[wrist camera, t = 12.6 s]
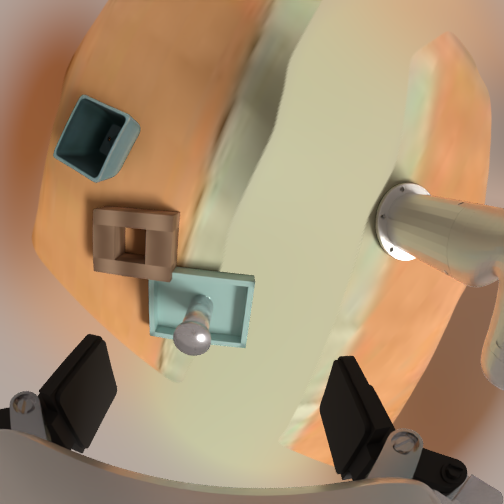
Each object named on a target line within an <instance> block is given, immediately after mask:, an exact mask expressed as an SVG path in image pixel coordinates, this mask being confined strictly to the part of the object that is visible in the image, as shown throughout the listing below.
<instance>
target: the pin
mask: <svg viewBox="0 0 504 504" xmlns="http://www.w3.org/2000/svg"><path fill="white" fill-rule="evenodd" d="M212 311H213V302H212V300H211V299H210V298H209V297H208V296H206V295H196V296H194V297H193V298H192V299H191V301H190V303H189V306H188V309H187V311H186V314H185V317H184V319H183V322H182V323H180V324H179V325H178V326H177V327H176V329H175V331H174V334H173V341H174V344H175V346H176V347H177V348H178V349H179V350H180V351H181V352H183V353H185V354H188V355H193V356H195V355H201V354H203V353H205V352H206V351H207V350H208V349H209V347H210V344H211V334H210V331H209V327H210V322H211V316H212Z"/></svg>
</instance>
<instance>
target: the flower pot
mask: <svg viewBox="0 0 504 504" xmlns="http://www.w3.org/2000/svg"><path fill="white" fill-rule="evenodd" d="M139 133H140V125H139V124H138V123H137V122H136V121H135V120H134V119H133V118H132V117H131V116H130V115H129V114H127V113H125V112H122V111H120V110H118V109H115V108H113V107H111V106H108V105H106V104H104V103H102V102H100V101H97V100H95V99H93V98H91V97H89V96H87V95H82V96H81V97H80V98H79V100H78V102H77V104H76V106H75V107H74V110H73V111H72V113H71V116H70V118H69V120H68V122H67V124H66V126H65V128H64V130H63V132H62V135H61V137H60V139H59V141H58V143H57V146H56V148H55V150H54V154H53V156H54V158H56V159H57V160H59V161H61V162H62V163H64V164H66V165H67V166H69V167H71V168H72V169H74V170H75V171H77V172H79V173H80V174H82V175H84V176H85V177H87V178H88V179H90V180H91V181H93V182H96V183H97V182H100V181H103V180H106V179H109V178H112V177H114V176H115V175H116V174H117V173H118V172H119V171H120V169H121V168H122V166H123V164H124V162H125V160H126V158H127V156H128V154H129V152H130V150H131V148H132V146H133V144H134V142H135V141H136V139H137V137H138V135H139ZM109 137H110V138H111V140H110V141H109V140H108V138H109Z"/></svg>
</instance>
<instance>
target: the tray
mask: <svg viewBox="0 0 504 504" xmlns="http://www.w3.org/2000/svg"><path fill="white" fill-rule="evenodd" d="M254 285H255V279H254V276H253V275H244V274H235V273H227V272H218V271H209V270H201V269H192V268H184V267H176V268H175V269H174V271H173V272H172V280H171V282H162V281H155V280H149V323H150V336H156V337H162V338H168V339H173V334H174V331H175V329H176V327H177V326H178V325H179V324H180V323H182V322H183V319H184V317H185V314H186V311H187V309H188V306H189V303H190V301H191V299H192V298H193V297H194V296H196V295H206V296H208V297H209V298H210V299H211V300H212V302H213V311H212V316H211V322H210V327H209V331H210V334H211V345H220V346H231V347H241V348H245V347H246V341H247V334H248V327H249V320H250V313H251V306H252V300H253V292H254Z"/></svg>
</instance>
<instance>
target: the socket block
mask: <svg viewBox="0 0 504 504" xmlns="http://www.w3.org/2000/svg"><path fill="white" fill-rule="evenodd" d="M179 220H180V212H171V211H160V210H149V209H137V208H125V207H112V206H104V207H100V208H96V209H93V264H94V271H97V272H103V273H109V274H115V275H122V276H128V277H135V278H141V279H148V280H155V281H162V282H171V280H172V272H173V271H174V269H175V268H176V266H177V247H178V233H179ZM125 227H127V228H137V229H146V250H145V255H138V254H130V253H125Z"/></svg>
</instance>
